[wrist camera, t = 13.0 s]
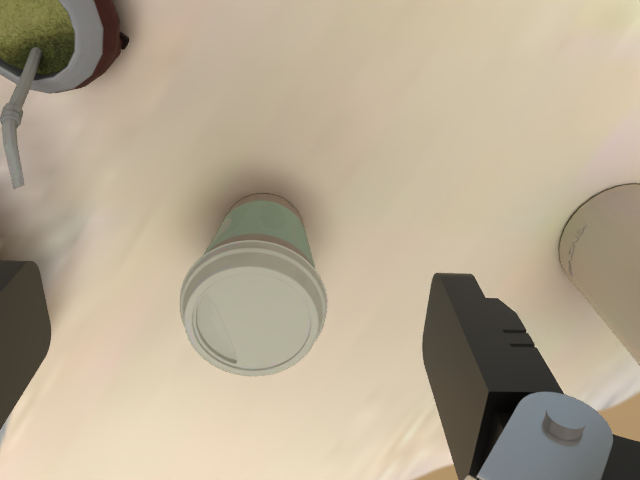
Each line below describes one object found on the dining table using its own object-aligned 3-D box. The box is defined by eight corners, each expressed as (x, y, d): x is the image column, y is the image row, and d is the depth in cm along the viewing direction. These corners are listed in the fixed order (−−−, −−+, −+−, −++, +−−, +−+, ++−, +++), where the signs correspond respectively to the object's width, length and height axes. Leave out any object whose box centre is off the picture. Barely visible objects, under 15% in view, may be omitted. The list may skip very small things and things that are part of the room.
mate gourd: (49, -77, 33) (-122, -93, 20) (172, 7, 35) (93, 43, 22) (2, 36, 36) (-177, 89, 22) (118, 107, 38) (19, 193, 24)
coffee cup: (219, 161, 40) (190, 239, 29) (336, 192, 41) (349, 278, 30) (195, 263, 43) (161, 367, 33) (303, 289, 45) (304, 396, 34)
